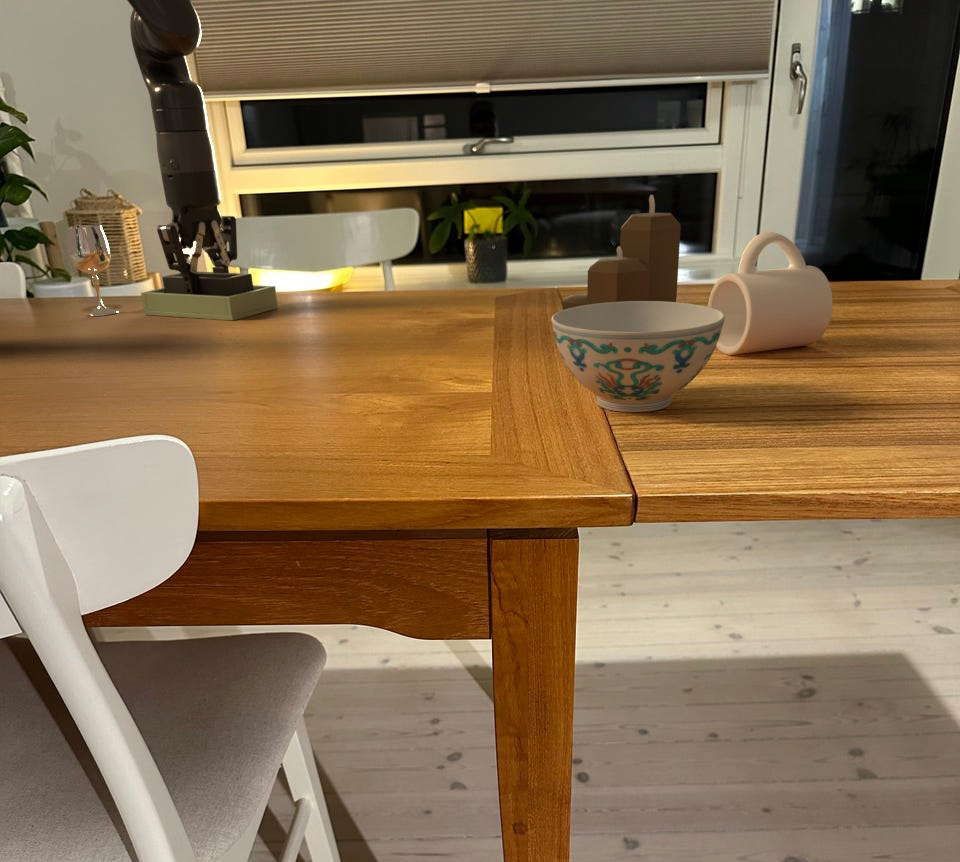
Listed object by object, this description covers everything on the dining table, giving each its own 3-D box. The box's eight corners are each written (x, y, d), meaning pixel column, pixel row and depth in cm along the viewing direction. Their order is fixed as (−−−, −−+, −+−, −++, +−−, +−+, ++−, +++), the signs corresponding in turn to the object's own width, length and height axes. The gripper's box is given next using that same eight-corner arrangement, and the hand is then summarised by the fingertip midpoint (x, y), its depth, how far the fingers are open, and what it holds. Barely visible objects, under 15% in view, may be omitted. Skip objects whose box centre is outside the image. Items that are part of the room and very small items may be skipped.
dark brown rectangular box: (166, 301, 140) (161, 276, 138) (192, 295, 144) (188, 271, 143) (230, 305, 135) (225, 279, 133) (255, 299, 139) (251, 273, 138)
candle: (647, 317, 124) (653, 190, 117) (703, 335, 113) (713, 196, 106) (551, 327, 120) (551, 197, 113) (599, 347, 109) (602, 203, 102)
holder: (145, 314, 140) (140, 292, 139) (193, 303, 148) (189, 282, 146) (232, 320, 133) (229, 297, 132) (278, 308, 141) (275, 286, 139)
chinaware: (601, 376, 97) (602, 297, 93) (743, 393, 89) (751, 307, 85) (520, 412, 86) (519, 323, 82) (674, 434, 78) (679, 338, 75)
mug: (827, 351, 103) (844, 231, 97) (746, 361, 100) (757, 238, 94) (781, 338, 110) (793, 225, 104) (703, 347, 107) (712, 232, 101)
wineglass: (130, 311, 143) (113, 224, 137) (98, 318, 139) (78, 228, 133) (106, 308, 146) (88, 224, 140) (74, 315, 142) (54, 228, 136)
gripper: (203, 166, 139) (222, 288, 147) (130, 172, 128) (155, 304, 136) (243, 165, 135) (261, 290, 144) (172, 171, 124) (195, 306, 132)
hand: (209, 296), depth 140 cm, fingers closed on dark brown rectangular box, 5 cm apart
